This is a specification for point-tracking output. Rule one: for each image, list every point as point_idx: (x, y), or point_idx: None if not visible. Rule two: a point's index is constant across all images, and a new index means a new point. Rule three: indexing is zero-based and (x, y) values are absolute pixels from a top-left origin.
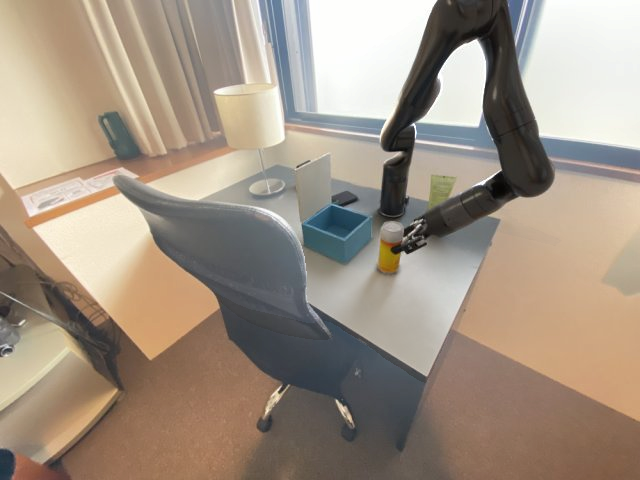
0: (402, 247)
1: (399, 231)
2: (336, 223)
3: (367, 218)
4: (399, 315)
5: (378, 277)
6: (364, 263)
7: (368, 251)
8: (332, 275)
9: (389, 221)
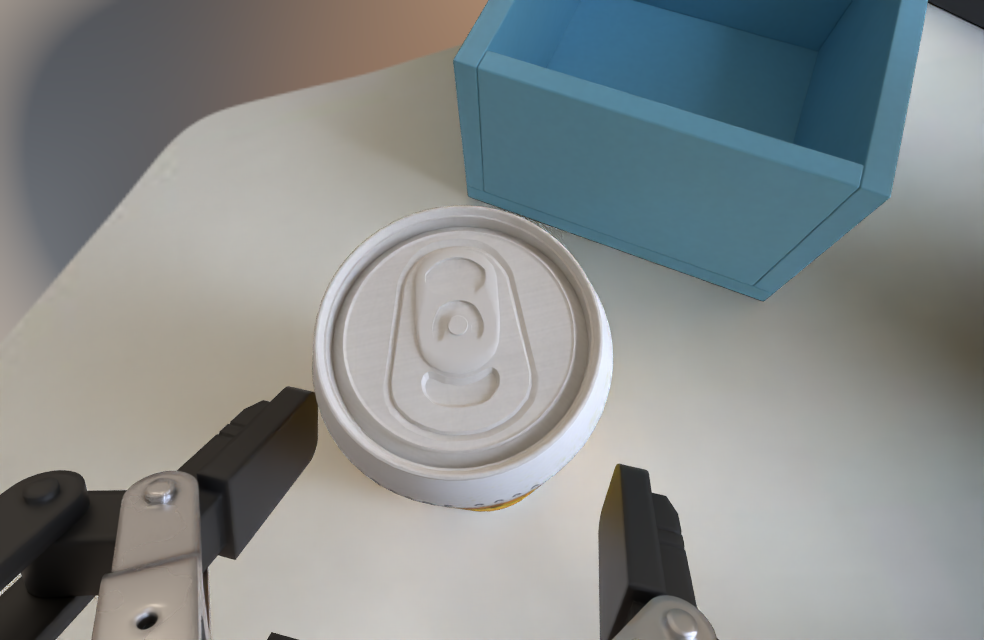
0: (13, 495)
1: (350, 433)
2: (820, 63)
3: (838, 161)
4: None
5: None
6: None
7: (620, 302)
8: (370, 157)
9: (581, 279)
